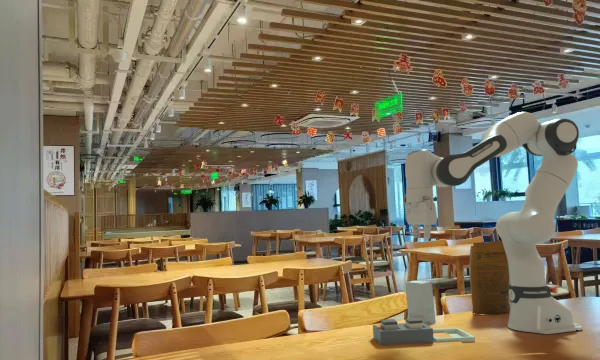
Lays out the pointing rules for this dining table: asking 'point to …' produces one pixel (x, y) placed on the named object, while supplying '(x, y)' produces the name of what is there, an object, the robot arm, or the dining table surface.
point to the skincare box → (420, 301)
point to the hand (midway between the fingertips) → (422, 238)
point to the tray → (454, 335)
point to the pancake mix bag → (489, 278)
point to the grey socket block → (403, 335)
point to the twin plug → (389, 324)
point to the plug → (413, 323)
